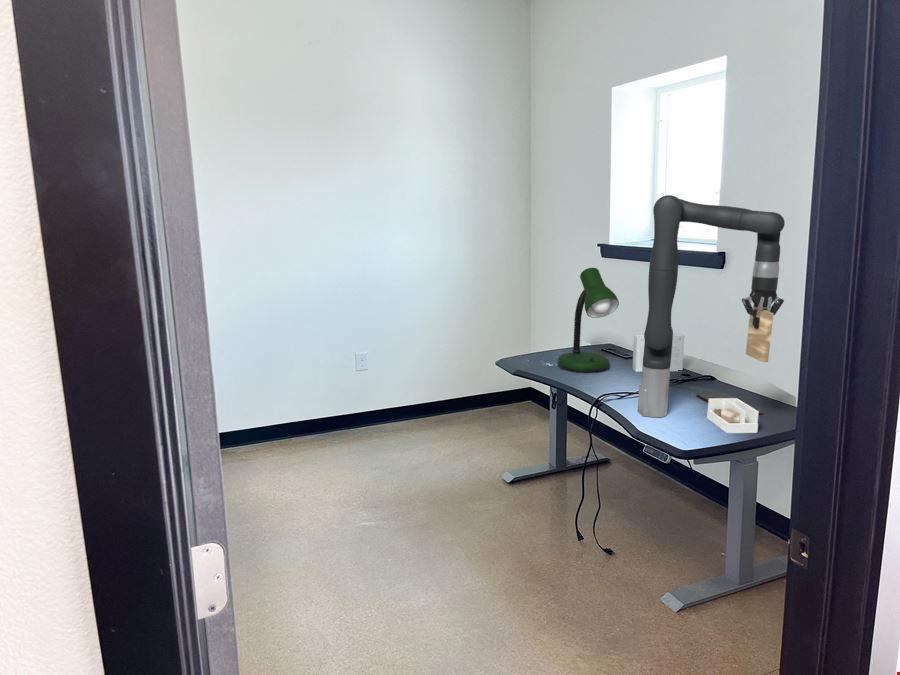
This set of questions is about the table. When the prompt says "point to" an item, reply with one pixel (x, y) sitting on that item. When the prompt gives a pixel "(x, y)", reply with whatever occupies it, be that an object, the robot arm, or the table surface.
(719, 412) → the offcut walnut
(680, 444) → the table surface
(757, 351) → the tan rectangular block
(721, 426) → the rack
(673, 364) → the skincare box
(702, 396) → the smartphone
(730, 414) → the offcut maple
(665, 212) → the robot arm
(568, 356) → the desk lamp
